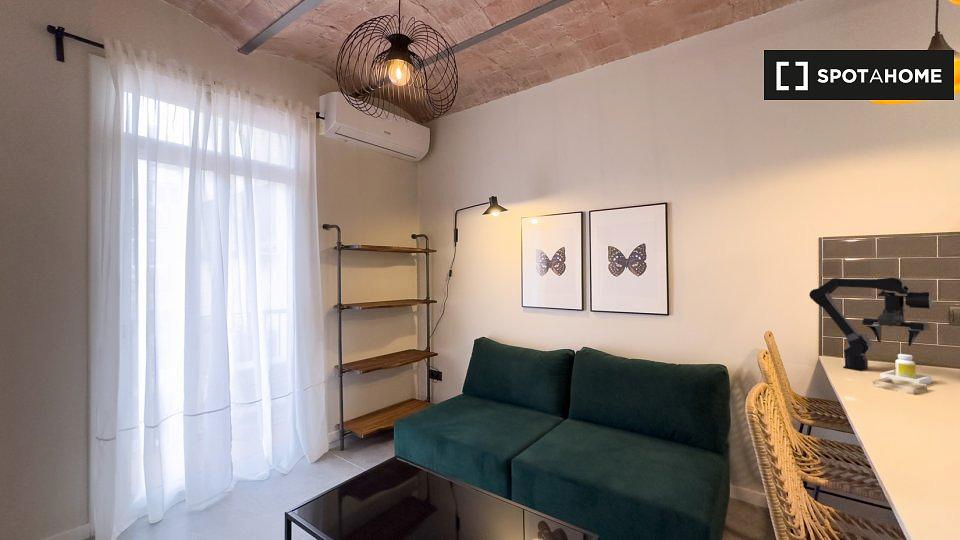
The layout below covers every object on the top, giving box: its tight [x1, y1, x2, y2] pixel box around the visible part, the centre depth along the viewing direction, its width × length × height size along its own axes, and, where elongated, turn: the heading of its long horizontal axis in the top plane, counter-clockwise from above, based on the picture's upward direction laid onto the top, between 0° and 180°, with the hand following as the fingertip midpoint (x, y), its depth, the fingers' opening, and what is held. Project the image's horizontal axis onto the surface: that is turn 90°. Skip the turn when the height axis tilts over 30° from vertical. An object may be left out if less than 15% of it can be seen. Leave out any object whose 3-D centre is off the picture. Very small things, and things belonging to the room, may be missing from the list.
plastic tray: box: [879, 369, 933, 386], centre depth 155 cm, size 11×11×2 cm
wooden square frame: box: [872, 377, 928, 395], centre depth 147 cm, size 11×11×2 cm
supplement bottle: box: [894, 353, 916, 379], centre depth 155 cm, size 5×5×10 cm
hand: (894, 344), depth 164 cm, fingers open, 9 cm apart
